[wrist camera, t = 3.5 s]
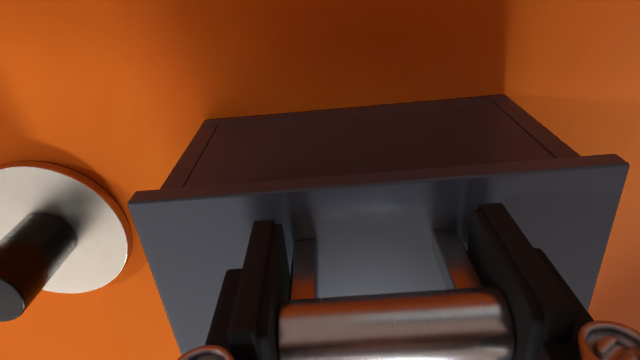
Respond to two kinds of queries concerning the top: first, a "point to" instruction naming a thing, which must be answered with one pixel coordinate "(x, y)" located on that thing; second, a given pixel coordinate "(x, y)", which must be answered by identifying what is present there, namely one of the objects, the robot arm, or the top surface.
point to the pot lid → (56, 234)
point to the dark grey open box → (364, 141)
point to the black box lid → (380, 253)
